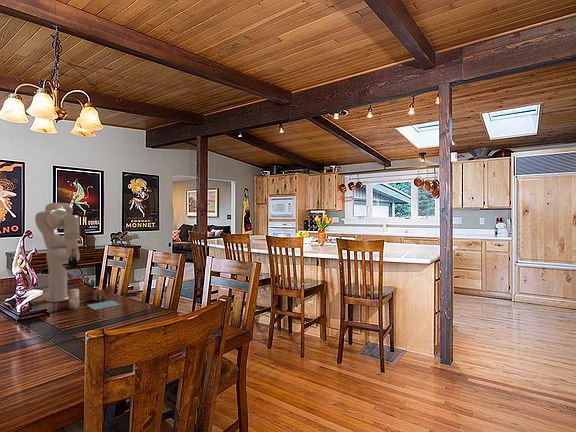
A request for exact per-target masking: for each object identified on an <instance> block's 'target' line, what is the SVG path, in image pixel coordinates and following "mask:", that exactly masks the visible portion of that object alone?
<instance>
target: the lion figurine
mask: <svg viewBox="0 0 576 432" xmlns="http://www.w3.org/2000/svg"><path fill="white" fill-rule="evenodd" d="M115 290H116V289H115V285H113V284H109V285H108V286H106V287H104V288H103V289H99V288H96V289H94V290H93V292H92V294H91V297H90V298H89V299H88V300H92V299H93V300H94V301H96V302H97V301H98V299H97V296H98V295H99V296H105V297H104V298H105V301H109V296H110V295H112V294H113V293H114V292H115Z"/></svg>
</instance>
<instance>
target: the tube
mask: <svg viewBox="0 0 576 432" xmlns="http://www.w3.org/2000/svg"><path fill="white" fill-rule="evenodd" d="M68 295H69V299H68V308H69V309H71V310H73V309H78V308H80V289H79V288H74V289H73V288H72V289H69V290H68Z"/></svg>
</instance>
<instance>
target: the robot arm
mask: <svg viewBox="0 0 576 432" xmlns="http://www.w3.org/2000/svg"><path fill="white" fill-rule="evenodd" d="M73 211H74V210H73V206H72V205H71V204H70V203H69V202H50V203H47V205H45V207H44V211H39V212H37V213H36V214H35V216H34V220H35V225H36V227H37V229H38V230H39V232H40V233H41V235H42V238H43V241H44V245H45V247H46V249H47V250H48V251H47V253H46V262H47V266H48V267H47V268H48V297H47V298H46V300H45V301H46V302H48V303H55V302H56V303H57V302H62V301H69V294H68V271H67V268H66V267H65V266H63V265H65V264H68V267H70V268H71V269H75V268H78V262H79V260H80V257H81V256H80V251H79V246H78V245H79V244H78V240H80V237H81V235H80V216H79V215H75V214H73ZM58 229H63V235H61V234H59V231H58Z"/></svg>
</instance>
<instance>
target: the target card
mask: <svg viewBox="0 0 576 432" xmlns="http://www.w3.org/2000/svg"><path fill="white" fill-rule="evenodd" d="M86 306H87V307H88V308H90V309H91V310H93V311H98V310H103V309H109V308H113V307H118V306H121V303H118V302H116V301H114V300H105V301H101V302H95V303H90V304H86Z"/></svg>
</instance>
